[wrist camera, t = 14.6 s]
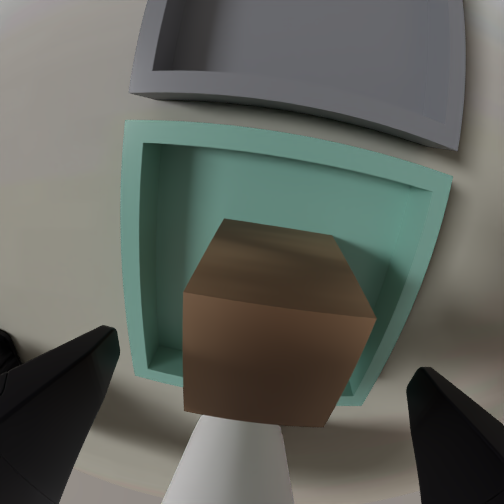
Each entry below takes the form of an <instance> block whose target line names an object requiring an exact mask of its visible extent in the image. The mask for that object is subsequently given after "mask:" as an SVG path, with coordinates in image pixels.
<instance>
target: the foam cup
mask: <svg viewBox="0 0 504 504" xmlns="http://www.w3.org/2000/svg"><path fill="white" fill-rule="evenodd" d="M161 504H294V499H293V493H292V487H291V481H290V475H289V469H288V463H287V457H286V451H285V446H284V440H283V435H282V434H281V427H280V426H279V425H272V424H262V423H253V422H245V421H238V420H231V419H224V418H218V417H212V416H207V415H202V416H201V417H200V419H199V420H198V422H197V424H196V427H195V429H194V430H193V432H192V435H191V437H190V439H189V441H188V444H187V446H186V448H185V451H184V453H183V455H182V458H181V460H180V462H179V464H178V467H177V469H176V471H175V473H174V476H173V478H172V480H171V483H170V485H169V487H168V489H167V492H166V494H165V496H164V498H163V500H162V503H161Z"/></svg>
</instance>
